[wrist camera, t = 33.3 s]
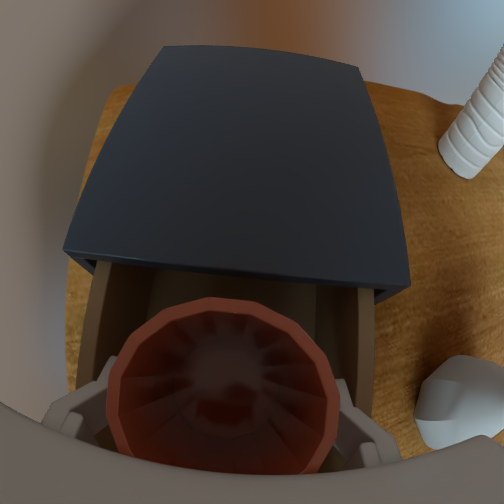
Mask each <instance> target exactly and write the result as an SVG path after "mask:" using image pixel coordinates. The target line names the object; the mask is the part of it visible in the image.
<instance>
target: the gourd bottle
mask: <svg viewBox="0 0 504 504" xmlns="http://www.w3.org/2000/svg"><path fill="white" fill-rule="evenodd" d="M413 417H414V419H415V422H416V424H417V426H418V429H419V431H420V433H421V436H422V438H423V441H424V442H425V444H426V445H427V446H428V447H430V448H433V449H442V448H445V447H448V446H451V445H454V444H456V443H459V442H462V441H464V440H467V439H469V438H472V437H474V436H477V435H486V436H488V437H490V438H492V437H493V436H495V435H496V434H497V433H499V432H500V431H501V430H502V429H504V368H503V367H501V366H500V365H498V364H496V363H494V362H491V361H488V360H484V359H480V358H476V357H472V356H468V355H456V356H453V357H450V358H449V359H447V360H446V361H445V362H444V363H443V364H442V365H441V366H440V367H438V368H437V369H436V370H435V371H434V372H433V373H432V374H431V375H430V376H429V377H428V378H427V379H426V380H424V381H423V382H422V385H421V389H420V393H419V397H418V400H417V404H416V408H415V411H414V415H413Z"/></svg>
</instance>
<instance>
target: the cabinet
mask: <svg viewBox="0 0 504 504" xmlns="http://www.w3.org/2000/svg"><path fill="white" fill-rule="evenodd" d="M63 251H64V252H66V253H67V254H68V255H69V256H70V257H71V258H72V259H73V260H75V261H76V262H77V263H78V264H79V265H81V266H82V267H83V268H84V269H86V270H87V271H88V272H89V273H91V274H92V275H93V276H94V272H95V268H96V264H97V260H98V261H106V262H113V263H121V264H128V265H136V266H144V267H152V268H160V269H169V270H177V271H186V272H195V273H204V274H213V275H222V276H232V277H242V278H252V279H262V280H272V281H283V282H294V283H306V284H318V285H330V286H343V287H356V288H370V289H374V305H376V304H378V303H380V302H382V301H384V300H386V299H388V298H390V297H391V296H393V295H395V294H397V293H399V292H401V291H402V290H404V289H406V288H407V287H409V286H410V285H411V281H410V271H409V263H408V255H407V247H406V240H405V234H404V228H403V222H402V216H401V211H400V206H399V201H398V196H397V191H396V187H395V182H394V178H393V174H392V170H391V166H390V162H389V158H388V154H387V150H386V147H385V143H384V140H383V136H382V133H381V130H380V126H379V123H378V120H377V117H376V114H375V111H374V108H373V105H372V102H371V100H370V97H369V94H368V91H367V89H366V86H365V83H364V81H363V78H362V76H361V73H360V71H359V68H358V67H356V66H352V65H349V64H345V63H341V62H336V61H332V60H327V59H323V58H318V57H313V56H308V55H302V54H296V53H290V52H283V51H276V50H267V49H259V48H248V47H234V46H206V45H198V46H197V45H196V46H195V45H194V46H193V45H190V46H165V47H163V48H162V50H161V51H160V52H159V54H158V55H157V56H156V58H155V59H154V61H153V62H152V64H151V65H150V66H149V68H148V69H147V71H146V72H145V74H144V76H143V77H142V79H141V80H140V82H139V83H138V85H137V86H136V88H135V89H134V91H133V93H132V94H131V96H130V98H129V99H128V101H127V103H126V104H125V106H124V108H123V109H122V111H121V113H120V115H119V117H118V118H117V120H116V122H115V124H114V126H113V128H112V129H111V131H110V133H109V135H108V137H107V139H106V141H105V143H104V145H103V147H102V149H101V151H100V153H99V155H98V157H97V160H96V162H95V164H94V166H93V168H92V171H91V173H90V175H89V177H88V180H87V182H86V185H85V187H84V189H83V192H82V194H81V197H80V199H79V202H78V205H77V207H76V210H75V213H74V216H73V219H72V222H71V224H70V227H69V230H68V233H67V236H66V239H65V242H64V246H63Z"/></svg>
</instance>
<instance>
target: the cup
mask: <svg viewBox="0 0 504 504" xmlns="http://www.w3.org/2000/svg"><path fill="white" fill-rule="evenodd" d="M339 407H340V393H339V390H338V387H337V384H336V382H335V379H334V376H333V373H332V370H331V367H330V364H329V361H328V358H327V356H325V353H324V352H323V351H322V350H321V349H320V348H319V347H318V345H317V344H316V343H315V342H314V341H313V340H312V339H311V338H310V337H309V335H308V334H307V333H306V332H305V331H304V330H303V329H302V328H301V327H300V325H299V324H298V323H296V322H295V321H294V320H291V319H289V318H287V317H285V316H283V315H281V314H279V313H277V312H275V311H273V310H271V309H269V308H267V307H265V306H263V305H261V304H259V303H257V302H254V301H247V300H237V299H227V298H217V297H205V298H201V299H198V300H194V301H190V302H187V303H183V304H179V305H176V306H172V307H168V308H166V309H163V310H162V311H161V312H159V313H158V314H157V315H155V316H154V317H153V318H151V319H150V320H149V321H147V322H146V323H145V324H143V325H142V326H141V327H140V328H138V329H137V330H136V331H134V332H133V333H132V334H131V335H130V336H129V337H128V339H127V341H126V342H125V344H124V346H123V348H122V349H121V351H120V353H119V355H118V357H117V358H116V360H115V362H114V364H113V366H112V368H111V369H110V373H109V377H108V388H107V400H106V417H107V420H108V423H109V426H110V429H111V432H112V435H113V438H114V441H115V444H116V446H117V449H118V452H119V453H120V454H123V455H127V456H131V457H134V458H138V459H142V460H147V461H151V462H155V463H160V464H165V465H170V466H176V467H182V468H188V469H195V470H202V471H210V472H220V473H231V474H247V475H301V474H316V473H317V472H318V470H319V469H320V467H321V465H322V463H323V462H324V460H325V458H326V456H327V455H328V453H329V451H330V449H331V448H332V446H333V444H334V442H335V440H336V437H337V429H338V419H339Z"/></svg>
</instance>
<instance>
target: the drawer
mask: <svg viewBox="0 0 504 504" xmlns="http://www.w3.org/2000/svg"><path fill="white" fill-rule="evenodd" d="M205 297H217V298H227V299H237V300H247V301H254V302H257V303H259V304H261V305H263V306H265V307H267V308H269V309H271V310H273V311H275V312H277V313H279V314H281V315H283V316H285V317H287V318H289V319H291V320H294V321H295V322H296V323H298V324H299V325H300V327H301V328H302V329H303V330H304V331H305V332H306V333H307V334H308V335H309V337H310V338H311V339H312V340H313V341H314V342H315V343H316V344H317V345H318V347H319V348H320V349H321V350H322V351H323V352H324V353H325V356H327V358H328V361H329V364H330V367H331V370H332V373H333V376H334V379H344V380H345V382H346V385H347V388H348V391H349V394H350V398H351V401H352V404H353V407H357V408H358V409H360V410H361V411H362V412H363V413H365V414H366V415H367V416H368V417H369V418H371V412H372V400H373V384H374V360H375V310H374V289H370V288H356V287H343V286H330V285H318V284H306V283H294V282H283V281H272V280H262V279H252V278H242V277H232V276H222V275H213V274H204V273H195V272H186V271H177V270H169V269H160V268H152V267H144V266H136V265H128V264H121V263H113V262H106V261H98V260H97V264H96V268H95V272H94V276H93V280H92V285H91V289H90V294H89V298H88V303H87V309H86V314H85V319H84V325H83V331H82V338H81V345H80V352H79V360H78V369H77V379H76V390H77V389H79V388H81V387H83V386H84V385H86V384H88V383H90V382H92V381H97V379H98V378H99V376H100V374H101V372H102V370H103V368H104V366H105V365H106V363H107V361H108V359H109V357H111V356H112V355H113V356H117V357H118V355H119V353H120V351H121V349H122V348H123V346H124V344H125V342H126V341H127V339H128V337H129V336H130V335H131V334H132V333H133V332H134V331H136V330H137V329H138V328H140V327H141V326H142V325H143V324H145V323H146V322H147V321H149V320H150V319H151V318H153V317H154V316H155V315H157V314H158V313H159V312H161V311H162V310H163V309H166V308H168V307H172V306H176V305H179V304H183V303H187V302H190V301H194V300H198V299H201V298H205ZM94 437H95V439H96V441H97V442H98V444H99V446H100V448H103V449H107V450H110V451H113V452H116V453H119V452H118V449H117V446H116V444H115V441H114V438H113V435H112V432H111V429H110V426H109V424H108V425H107V426H106V427H104V428H103V429H102V430H101V431H99V432H98V433H97V434H95V435H94ZM346 462H347V460H346V459H345V458H344V457H343V456H342V455H341V453H340V452H339V451H338V450H337V449H336V448H335V447H334V445H333V446H332V448H331V449H330V451H329V453H328V455H327V456H326V458H325V460H324V462H323V463H322V465H321V467H320V469H319V470H318V472H317V473H328V472H338V471H339V470H340V469H341V468H342V467H343V466H344V465H345V463H346ZM317 473H316V474H317Z"/></svg>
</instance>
